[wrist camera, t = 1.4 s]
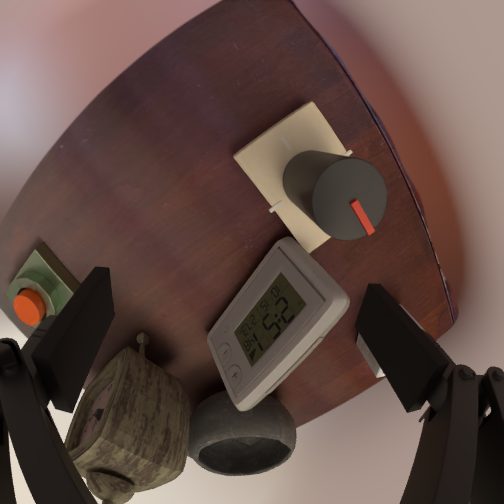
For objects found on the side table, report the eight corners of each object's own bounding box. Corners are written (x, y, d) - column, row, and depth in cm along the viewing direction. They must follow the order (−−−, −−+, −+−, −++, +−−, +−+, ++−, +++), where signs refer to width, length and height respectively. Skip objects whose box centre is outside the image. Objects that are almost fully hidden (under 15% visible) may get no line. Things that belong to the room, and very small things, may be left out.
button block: (43, 242, 28) (26, 255, 25) (86, 291, 31) (74, 308, 27) (12, 286, 30) (-3, 301, 26) (50, 328, 32) (38, 345, 29)
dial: (270, 173, 26) (295, 192, 17) (318, 138, 25) (364, 141, 17) (304, 220, 28) (340, 258, 19) (349, 186, 27) (401, 210, 19)
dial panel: (228, 158, 28) (229, 160, 25) (308, 101, 26) (316, 98, 24) (298, 248, 32) (304, 257, 29) (368, 195, 30) (379, 200, 28)
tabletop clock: (141, 317, 33) (86, 520, 10) (198, 357, 36) (197, 549, 13) (90, 372, 36) (42, 521, 13) (139, 403, 39) (118, 550, 16)
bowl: (242, 353, 36) (250, 414, 27) (304, 401, 42) (320, 451, 32) (167, 401, 39) (161, 455, 30) (233, 438, 44) (238, 486, 35)
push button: (28, 282, 26) (21, 289, 24) (51, 307, 27) (44, 315, 26) (16, 299, 27) (9, 306, 25) (37, 323, 28) (31, 331, 26)
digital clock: (289, 224, 31) (321, 267, 21) (338, 277, 34) (378, 330, 24) (185, 320, 34) (177, 386, 24) (239, 359, 37) (247, 424, 27)
